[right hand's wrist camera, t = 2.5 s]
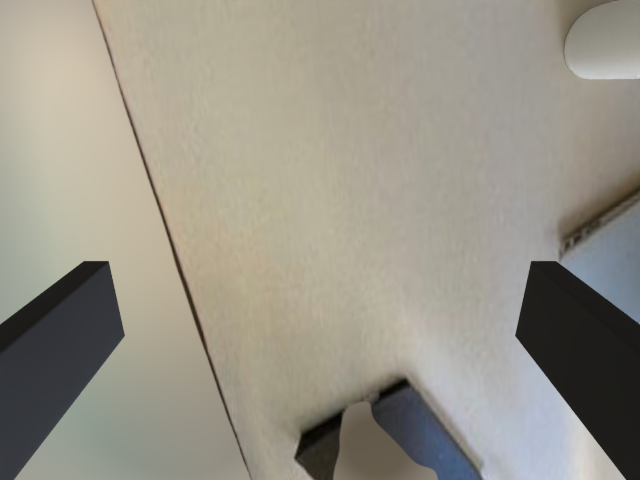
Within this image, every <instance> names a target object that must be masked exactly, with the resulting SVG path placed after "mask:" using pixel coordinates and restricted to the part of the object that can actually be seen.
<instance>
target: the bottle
mask: <svg viewBox="0 0 640 480" xmlns="http://www.w3.org/2000/svg"><path fill="white" fill-rule="evenodd" d="M564 55H565V60H566V63H567V66H568V67H569V69H570V70H571V71H572V72H573V73H574V74H575V75H577V76H578V77H581V78H584V79H640V0H617V1H613V2H610V3H606V4H603V5H599V6H596V7H593V8H591V9H589V10H588V11H586V12H585V13H584V14H582V15H581V16H580V17H579V18H578V19H577V20H576V22H575V23H574V24H573V26H572V27H571V29H570V31H569V33H568V35H567V38H566V41H565V47H564Z"/></svg>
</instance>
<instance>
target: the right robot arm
mask: <svg viewBox="0 0 640 480" xmlns="http://www.w3.org/2000/svg"><path fill="white" fill-rule="evenodd" d="M124 336H125V335H124V330H123V326H122V321H121V316H120V312H119V307H118V302H117V298H116V293H115V289H114V284H113V279H112V275H111V270H110V265H109V262H108V261H84V262H82V263H81V264H80V265H78V266H77V267H76V268H74V269H73V270H72V271H70V272H69V273H68V274H66V275H65V276H64V277H62V278H61V279H60V280H58V281H57V282H56V283H55V284H53V285H52V286H51V287H49V288H48V289H47V290H45V291H44V292H43V293H41V294H40V295H39V296H37V297H36V298H35V299H33V300H32V301H31V302H29V303H28V304H27V305H25V306H24V307H23V308H22V309H20V310H19V311H18V312H16V313H15V314H14V315H12V316H11V317H10V318H8V319H7V320H6V321H4V322H3V323H2V324H0V480H14V479H15V478H16V476H17V475H18V474H19V472H20V471H21V470H22V468H23V467H24V466H25V465H26V463H27V462H28V461H29V459H30V458H31V457H32V455H33V454H34V453H35V452H36V450H37V449H38V448H39V446H40V445H41V444H42V443H43V441H44V440H45V439H46V437H47V436H48V435H49V433H50V432H51V431H52V430H53V428H54V427H55V426H56V424H57V423H58V422H59V420H60V419H61V418H62V417H63V415H64V414H65V413H66V411H67V410H68V409H69V407H70V406H71V405H72V404H73V402H74V401H75V400H76V398H77V397H78V396H79V395H80V393H81V392H82V390H83V389H84V388H85V387H86V385H87V384H88V383H89V382H90V380H91V379H92V378H93V376H94V375H95V374H96V372H97V371H98V370H99V369H100V367H101V366H102V365H103V363H104V362H105V361H106V359H107V358H108V357H109V356H110V354H111V353H112V352H113V350H114V349H115V348H116V347H117V345H118V344H119V343H120V341H121V340H122V339H123V337H124ZM515 336H516V337H517V339H518V340H519V341H520V343H521V344H522V345H523V347H524V348H525V349H526V350H527V352H528V353H529V354H530V356H531V357H532V358H533V359H534V361H535V362H536V363H537V365H538V366H539V367H540V369H541V370H542V371H543V372H544V374H545V375H546V376H547V378H548V379H549V380H550V382H551V383H552V384H553V385H554V387H555V388H556V389H557V391H558V392H559V393H560V395H561V396H562V397H563V398H564V400H565V401H566V402H567V404H568V405H569V406H570V407H571V409H572V410H573V411H574V413H575V414H576V415H577V417H578V418H579V419H580V420H581V422H582V423H583V424H584V426H585V427H586V428H587V430H588V431H589V432H590V433H591V435H592V436H593V437H594V439H595V440H596V441H597V443H598V444H599V445H600V446H601V448H602V449H603V450H604V452H605V453H606V454H607V455H608V457H609V458H610V459H611V461H612V462H613V463H614V465H615V466H616V467H617V468H618V470H619V471H620V472H621V474H622V475H623V476H624V478H625V479H626V480H640V324H638V323H637V322H636V321H634V320H633V319H632V318H630V317H629V316H628V315H626V314H625V313H624V312H622V311H621V310H620V309H619V308H617V307H616V306H615V305H613V304H612V303H611V302H609V301H608V300H607V299H605V298H604V297H603V296H601V295H600V294H599V293H597V292H596V291H595V290H593V289H592V288H591V287H589V286H588V285H587V284H586V283H584V282H583V281H582V280H580V279H579V278H578V277H576V276H575V275H574V274H572V273H571V272H570V271H568V270H567V269H566V268H564V267H563V266H562V265H560V264H559V263H558V262H556V261H531V265H530V270H529V275H528V279H527V284H526V289H525V293H524V298H523V302H522V307H521V312H520V316H519V321H518V326H517V330H516V335H515Z"/></svg>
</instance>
